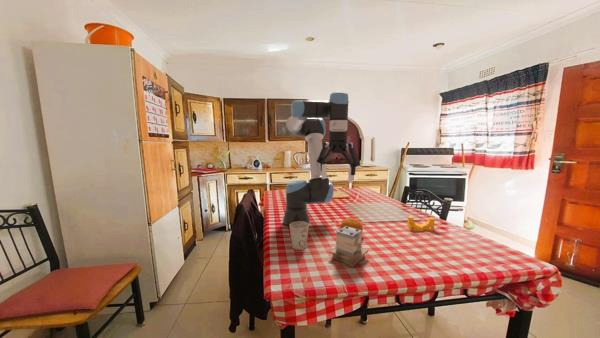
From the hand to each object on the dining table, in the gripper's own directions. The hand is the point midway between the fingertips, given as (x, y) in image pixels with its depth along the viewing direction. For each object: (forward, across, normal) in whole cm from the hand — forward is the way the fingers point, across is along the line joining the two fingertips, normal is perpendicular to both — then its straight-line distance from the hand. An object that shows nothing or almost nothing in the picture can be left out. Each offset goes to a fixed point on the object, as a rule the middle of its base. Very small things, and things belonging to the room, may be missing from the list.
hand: (336, 180), depth 97 cm
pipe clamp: (+29, +25, +42) cm, 57 cm away
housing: (+25, +12, -8) cm, 29 cm away
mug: (+29, -11, -13) cm, 34 cm away
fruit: (+29, +2, +12) cm, 31 cm away
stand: (+28, +12, -8) cm, 31 cm away
